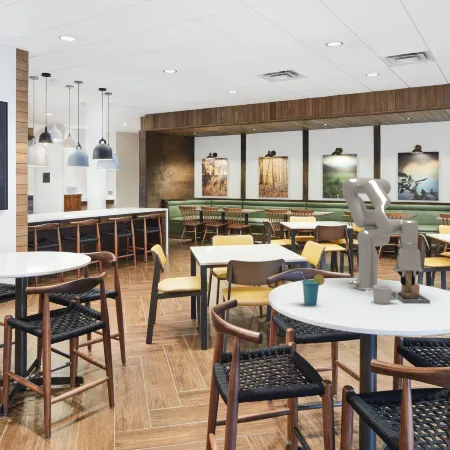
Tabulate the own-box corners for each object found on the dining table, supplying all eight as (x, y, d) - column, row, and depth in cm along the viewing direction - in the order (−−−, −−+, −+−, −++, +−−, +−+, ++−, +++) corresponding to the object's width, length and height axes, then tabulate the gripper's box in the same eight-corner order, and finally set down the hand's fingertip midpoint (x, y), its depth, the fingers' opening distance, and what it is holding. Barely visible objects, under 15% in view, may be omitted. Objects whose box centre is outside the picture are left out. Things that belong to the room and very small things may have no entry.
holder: (406, 296, 227) (406, 284, 227) (401, 293, 234) (401, 282, 233) (419, 296, 227) (419, 285, 227) (414, 293, 233) (414, 282, 233)
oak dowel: (404, 293, 219) (405, 268, 218) (401, 291, 223) (403, 267, 222) (412, 293, 219) (413, 268, 218) (409, 291, 223) (410, 267, 222)
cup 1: (292, 305, 207) (292, 272, 206) (293, 301, 214) (293, 269, 213) (324, 307, 204) (324, 273, 203) (324, 303, 211) (325, 270, 210)
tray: (403, 304, 210) (403, 299, 210) (390, 296, 226) (391, 292, 226) (429, 304, 210) (429, 300, 210) (415, 296, 226) (415, 292, 226)
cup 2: (397, 303, 213) (397, 285, 212) (397, 307, 205) (398, 289, 205) (372, 301, 216) (373, 284, 216) (372, 305, 209) (372, 287, 208)
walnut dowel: (400, 293, 220) (401, 299, 219) (402, 291, 217) (403, 298, 216) (415, 293, 220) (416, 300, 219) (417, 292, 217) (418, 298, 216)
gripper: (394, 247, 216) (392, 286, 217) (430, 247, 215) (428, 286, 217) (388, 245, 223) (387, 283, 224) (423, 245, 223) (422, 283, 224)
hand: (407, 284), depth 220 cm, fingers closed on oak dowel, 3 cm apart
